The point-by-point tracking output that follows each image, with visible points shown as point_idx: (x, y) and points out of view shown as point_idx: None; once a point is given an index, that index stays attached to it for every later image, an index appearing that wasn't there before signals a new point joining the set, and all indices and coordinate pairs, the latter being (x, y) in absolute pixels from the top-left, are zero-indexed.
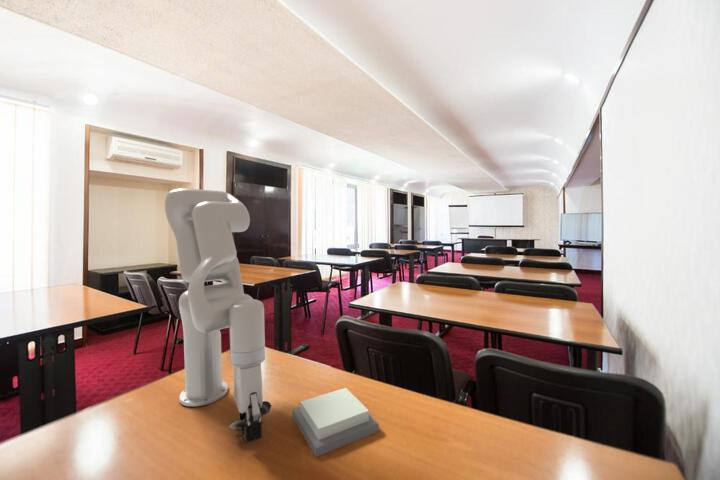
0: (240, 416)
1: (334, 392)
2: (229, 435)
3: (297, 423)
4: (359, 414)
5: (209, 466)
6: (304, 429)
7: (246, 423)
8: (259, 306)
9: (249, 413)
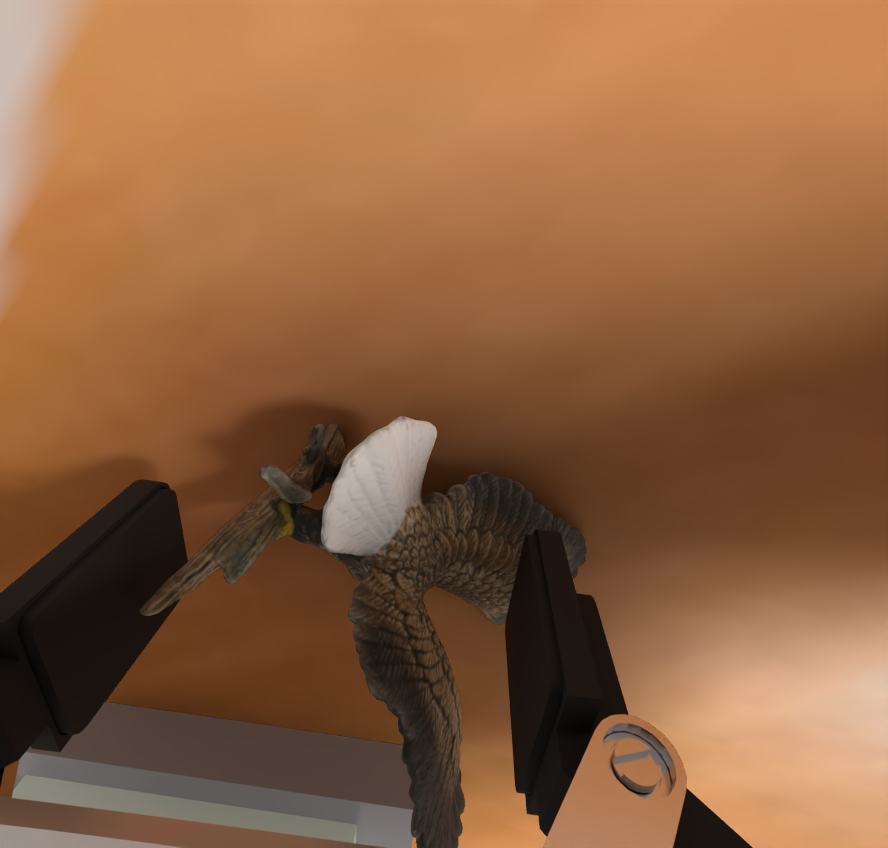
0: (536, 563)
1: None
2: (505, 376)
3: (315, 744)
4: None
5: (142, 96)
6: (153, 770)
7: (12, 631)
8: None
9: (403, 670)
